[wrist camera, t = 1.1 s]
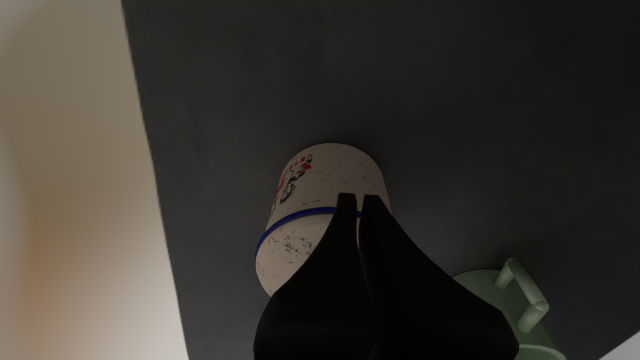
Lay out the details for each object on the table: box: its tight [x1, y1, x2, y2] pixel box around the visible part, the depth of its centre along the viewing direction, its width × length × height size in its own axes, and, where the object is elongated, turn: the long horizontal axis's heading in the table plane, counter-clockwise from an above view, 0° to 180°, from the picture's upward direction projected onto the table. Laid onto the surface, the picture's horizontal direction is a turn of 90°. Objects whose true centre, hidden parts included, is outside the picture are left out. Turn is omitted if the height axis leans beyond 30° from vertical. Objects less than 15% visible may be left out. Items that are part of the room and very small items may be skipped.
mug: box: [452, 257, 566, 360], centre depth 28 cm, size 12×9×8 cm
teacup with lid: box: [255, 143, 392, 297], centre depth 21 cm, size 12×9×12 cm
